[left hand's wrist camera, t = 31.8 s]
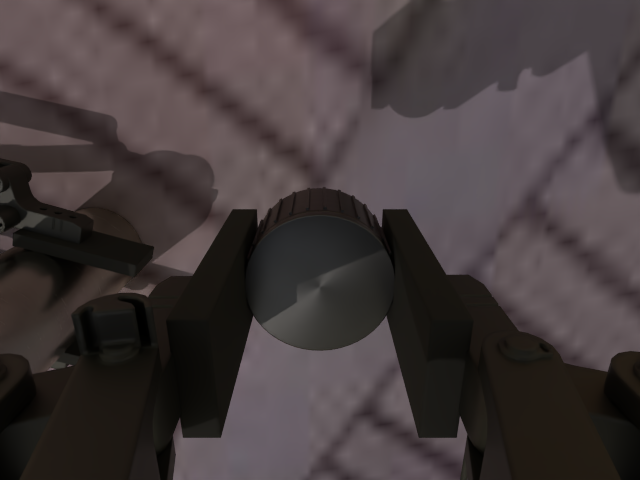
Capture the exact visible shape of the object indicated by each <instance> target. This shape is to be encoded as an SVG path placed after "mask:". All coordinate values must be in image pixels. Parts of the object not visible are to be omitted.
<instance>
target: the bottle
mask: <svg viewBox="0 0 640 480" xmlns="http://www.w3.org/2000/svg"><path fill="white" fill-rule="evenodd" d="M75 212H77V213H81V214H85V215H87V216H88V217H90V218H91V219H93V220H94V224H93V231H97V232H100V233H104V234H108V235H111V236H115V237H119V238H123V239H126V240H130V241H134V242H138V243H141V241H140V239H139V236H138V234H137V233H136V231H135V230H134V228H133V227H132V226H131V225H130V224H129V223H128V222H127V221H126V220H125V219H124V218H122V217H121V216H119V215H118V214H116V213H114V212H111V211H109V210H105V209H101V208H84V209H80V210H78V211H75ZM131 278H132V277H131V276H127V275H123V274H119V273H116V272H112V271H108V270H104V269H100V268H96V267H93V266H89V265H85V264H81V263H77V262H73V261H70V260H66V259H62V258H58V257H54V256H50V255H47V254H43V253H39V252H35V251H31V250H27V249H23V248H20V247H16V246H14V247H12V248H11V249H9V250H7V251H5V252H4V253H2V254H0V354H8V353H11V354H17V355H22V356H23V357H25V358H26V359H27V360H28V361H29V364H30V368H31V371H32V374H35V373H40V372H45V371H47V370H48V369H49V368H50V367H51V366H52V365H53V364H54V363H55V362H56V361H57V359H58V358H59V357H60V356H61V355H62V354H63V353H64V352H65V351H66V350H67V348H68V347H69V346H70V345H71V344H72V343H73V342H74V341H75V340H76V339H77V338H76V334H75V329H74V325H73V321H72V317H71V314H72V313H73V312H74V311H75V310H76V309H77V308H78V307H79V306H81V305H83V304H85V303H87V302H88V301H90V300H93V299H96V298H99V297H102V296H105V295H111V294H117V293H118V292H119V291H120V290H121V289H122V288H123V287H124V286H125V285H126V284H127V283H128V281H129V280H130V279H131Z"/></svg>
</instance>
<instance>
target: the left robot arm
mask: <svg viewBox="0 0 640 480" xmlns="http://www.w3.org/2000/svg"><path fill="white" fill-rule="evenodd" d="M257 229H258V223H257V209H233V210H232V212H231V213H230V215H229V217H228V218H227V220H226V222H225V223H224V225H223V226H222V228H221V230H220V231H219V233H218V235H217V236H216V238H215V240H214V241H213V243H212V245H211V246H210V248H209V250H208V251H207V253H206V255H205V256H204V258H203V260H202V261H201V263H200V265H199V266H198V268H197V270H196V271H195V273H194V275H193V276H171V277H169V278H168V279H166V280H165V281H163V282H161V283H160V284H158V285H157V286H156V287H155V288H154V290H153V291H152V292H151V294H150V295H149V296H148V297H146V296H145V295H141V294H137V293H117V294H111V295H105V296H102V297H99V298H96V299H93V300H90V301H88V302H87V303H85V304H83V305H81V306H79V307H78V308H77V309H76V310H75V311H74V312H73V313H72V314H71V317H72V321H73V325H74V329H75V334H76V338H77V342H78V346H79V351H80V357H79V359H78V361H77V363H76V365H74V366H70V367H66V368H61V369H56V370H51V371H45V372H40V373H35V374H32V371H31V368H30V364H29V361H28V360H27V359H26V358H25V357H23V356H22V355H17V354H11V353H8V354H0V480H173V473H174V464H175V456H176V454H175V447H174V440H173V433H174V431H175V428H176V426H177V423H178V421H179V418H180V420H181V427H182V434H183V438H221V435H222V431H223V427H224V424H225V420H226V416H227V412H228V408H229V405H230V401H231V397H232V393H233V390H234V386H235V382H236V378H237V375H238V371H239V367H240V363H241V360H242V356H243V352H244V348H245V345H246V341H247V337H248V333H249V329H250V326H251V322H252V318H253V314H252V312H251V310H250V308H249V306H248V303H247V300H246V288H245V269H246V265H247V256H248V254H249V251H250V248H251V246H252V243H253V240H254V237H255V235H256V232H257ZM382 230H383V232H384V235H385V237H386V240H387V242H388V245H389V247H390V250H391V253H392V254H391V255H390V256H391V259H392V262H393V265H394V269H395V281H394V296H393V302H392V305H391V307H390V310H389V311H388V313H387V315H386V316H387V319H388V323H389V327H390V331H391V334H392V338H393V342H394V346H395V349H396V353H397V357H398V361H399V364H400V368H401V372H402V376H403V380H404V383H405V387H406V391H407V395H408V398H409V402H410V406H411V410H412V413H413V417H414V421H415V425H416V428H417V432H418V436H419V438H457V432H458V425H459V418H460V417H461V419H462V422H463V424H464V427H465V429H466V432H467V440H466V447H465V453H464V459H463V466H462V472H461V479H460V480H640V352H634V351H628V352H622V353H618V354H617V355H615V356H614V357H613V358H612V359H611V363H610V366H609V370H608V372H605V371H600V370H595V369H589V368H584V367H579V366H574V365H570V364H566V363H564V362H563V360H562V358H561V356H560V354H559V353H558V352H557V351H556V350H555V348H554V347H553V346H552V345H550V344H549V343H547V342H546V341H544V340H543V339H541V338H539V337H536V336H534V335H531V334H529V333H525V332H520V331H518V330H517V328H516V327H515V326H514V324H513V323H512V322H511V320H510V319H509V318H508V316H507V315H506V314H505V312H504V311H503V310H502V308H501V307H500V306H498V303H497V301H496V300H495V299H494V297H492V295H491V293H490V292H489V291H488V289H487V288H486V287H485V285H484V284H482V283H481V282H479V281H478V280H476V279H474V278H473V277H471V276H470V275H446V273H445V272H444V270H443V268H442V267H441V265H440V263H439V262H438V260H437V259H436V257H435V255H434V254H433V252H432V250H431V249H430V247H429V245H428V244H427V242H426V240H425V239H424V237H423V235H422V234H421V232H420V230H419V229H418V227H417V225H416V224H415V222H414V220H413V219H412V217H411V215H410V214H409V212H408V210H407V209H383V217H382Z"/></svg>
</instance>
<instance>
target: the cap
mask: <svg viewBox="0 0 640 480" xmlns="http://www.w3.org/2000/svg"><path fill="white" fill-rule="evenodd" d="M391 254H392V253H391V250H390V247H389V245H388V242H387V240H386V237H385V235H384V232H383V230H382V227H380V226H379V223H378V221H377V218H376V216H375V214H374V215H372V213H371V212H370V211H369V210H368V208H367V205H366V204H364V205H363V204H362V203H361V202H360V201H358V200H357V199H355V196H353V195H352V196H350V195H348V194H346V193H343V192H341V190H338V191H337V190H332V189H326V187H323V188H315V189H310V188H307V190H303V191H299V192H293V193H292V194H291V195H289V196H287V197H286V198H284V199H283V200H282V198H281V199H280V200H279V202H278V203H277V204H276V205H275V206H274V207H273V208H272V209H271V208H270V209H269V210H268V213H267V215H266V216H265V218H264V220H261V221H260V224H259V227H258V229H257V232H256V235H255V237H254V240H253V243H252V246H251V248H250V251H249V254H248V256H247V265H246V269H245V288H246V300H247V303H248V306H249V308H250V310H251V312H252V314H253V315H254V317H255V318H256V320H257V321H258V323H259V324H260V325H261V326H262V327H263V328H264V329H265V330H266V331H267V332H268V333H270V334H271V335H272V336H274V337H275V338H277V339H278V340H280V341H282V342H284V343H286V344H289V345H291V346H294V347H298V348H302V349H307V350H332V349H338V348H342V347H345V346H348V345H351V344H353V343H355V342H358V341H359V340H361V339H363V338H364V337H366V336H367V335H369V334H370V333H371V332H372V331H374V330H375V329H376V328H377V327H378V326H379V325H380V323H381V322H382V321H383V319H384V318H385V317H386V315H387V313H388V311H389V310H390V307H391V305H392V302H393V296H394V281H395V269H394V265H393V262H392V259H391V256H390V255H391Z"/></svg>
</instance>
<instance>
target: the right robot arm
mask: <svg viewBox="0 0 640 480" xmlns="http://www.w3.org/2000/svg"><path fill="white" fill-rule="evenodd" d="M31 177H32V174H31V171H30V169H29V168H28V167H27V166H26V165H25V164H22V163H19V162H14V161H9V160H5V159H0V234H1V233H3V232H5V231H7V230H8V229H10V228H12V227H14V228H18V229H20V230H18V231H16V232H14V233H13V246H16V247H20V248H23V249H27V250H31V251H35V252H39V253H43V254H47V255H50V256H54V257H58V258H62V259H66V260H70V261H73V262H77V263H81V264H85V265H89V266H93V267H96V268H100V269H104V270H108V271H112V272H116V273H119V274H123V275H127V276H131V277H135V276H136V275H137V274H138V273H139V272H140V271H141V270H142V268H143V267H144V266H145V265H146V264H147V263H148V262H149V261H150V260H151V259H152V256H153V250H154V247H153V246H149V245H145V244H141V243H138V242H134V241H130V240H126V239H123V238H119V237H115V236H111V235H108V234H104V233H100V232H97V231H93V224H94V220H93V219H91V218H90V217H88V216H87V215H85V214H81V213H77V212H74V211H70V210H66V209H63V208H59V207H55V206H52V205H48V204H44V203H41V202H39V201H38V200H37V199H36V198H34V196H33V195H32V193H31V190H30V187H29V183H28V182H29V181H30V180H31ZM79 357H80V351H79V346H78V342H77V339H76V340H75V341H74V342H73V343H72V344H71V345H70V346H69V347H68V348H67V350H66V351H65V352H64V353H63V354H62V355H61V356H60V357H59V358H58V359H57V361H56V362H55V363H54V364H53V365H52V366H51V367H50V368H54V369H61V368H66V367H67V366H68V365H69V364H70V365H76V363H77V361H78V359H79Z"/></svg>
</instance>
